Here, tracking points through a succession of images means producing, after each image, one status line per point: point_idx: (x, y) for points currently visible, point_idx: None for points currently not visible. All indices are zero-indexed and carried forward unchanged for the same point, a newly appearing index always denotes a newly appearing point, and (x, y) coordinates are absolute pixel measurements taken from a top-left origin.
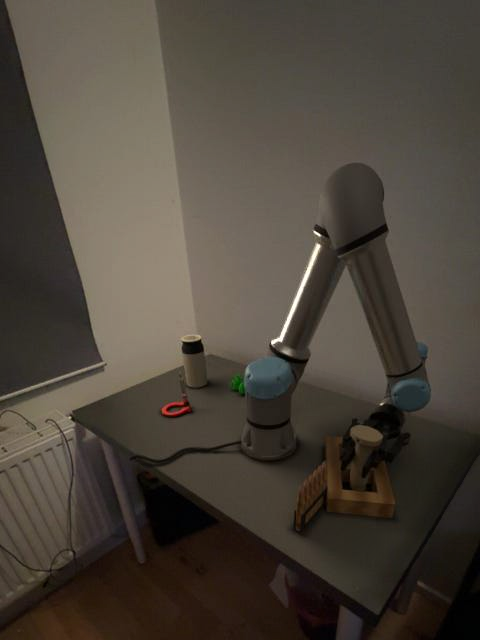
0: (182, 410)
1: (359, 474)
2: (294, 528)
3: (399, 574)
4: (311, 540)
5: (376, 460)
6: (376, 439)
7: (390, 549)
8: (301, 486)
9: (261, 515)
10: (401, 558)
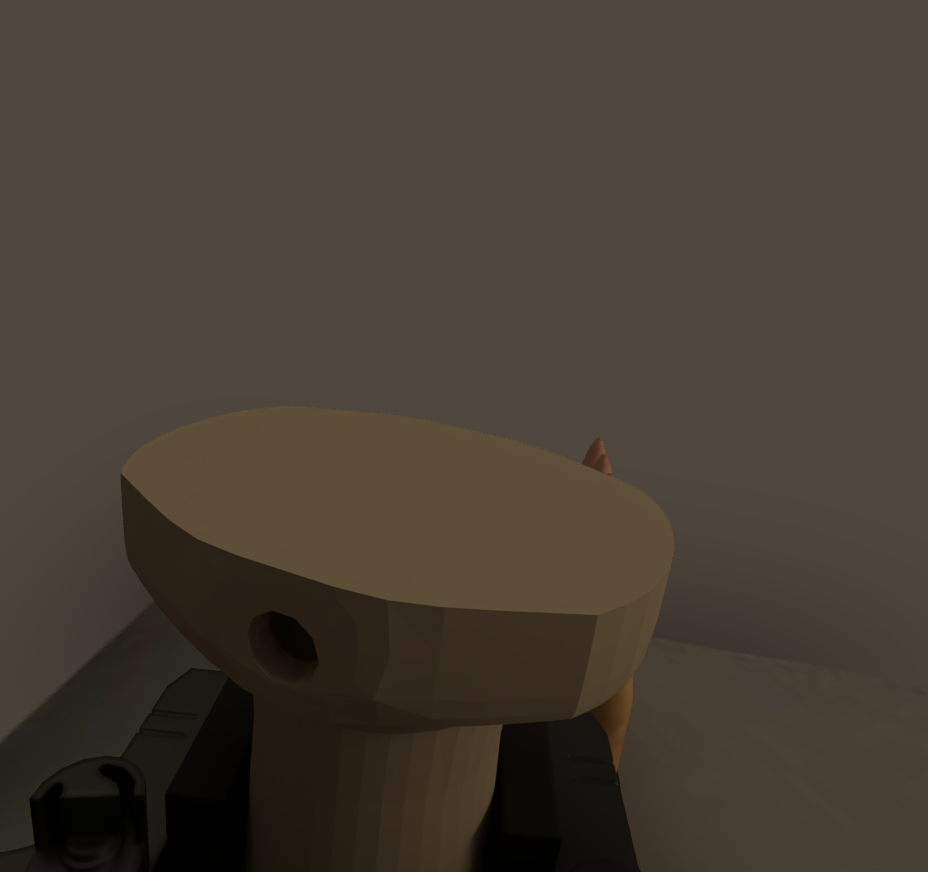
0: None
1: None
2: None
3: (89, 660)
4: None
5: (192, 700)
6: (239, 426)
7: (99, 749)
8: (596, 443)
9: (737, 706)
10: (52, 724)
